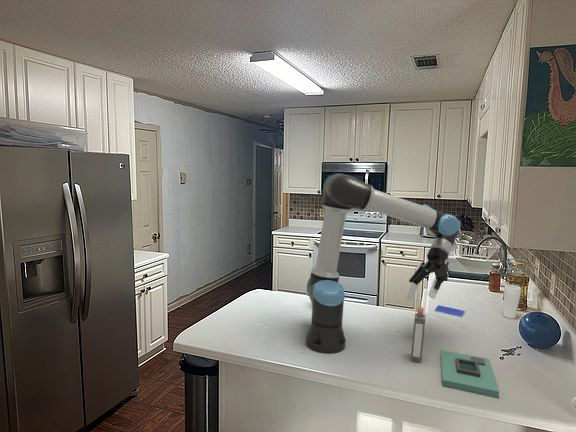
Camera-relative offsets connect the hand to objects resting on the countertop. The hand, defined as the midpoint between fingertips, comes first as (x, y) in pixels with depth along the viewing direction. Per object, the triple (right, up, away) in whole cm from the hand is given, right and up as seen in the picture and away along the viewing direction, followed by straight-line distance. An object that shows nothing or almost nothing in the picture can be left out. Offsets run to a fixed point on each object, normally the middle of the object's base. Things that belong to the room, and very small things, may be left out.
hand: (419, 297), depth 150 cm
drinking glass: (+55, -17, +37) cm, 68 cm away
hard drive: (+28, -16, +40) cm, 51 cm away
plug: (-4, -20, -8) cm, 22 cm away
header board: (+10, -22, -18) cm, 30 cm away
